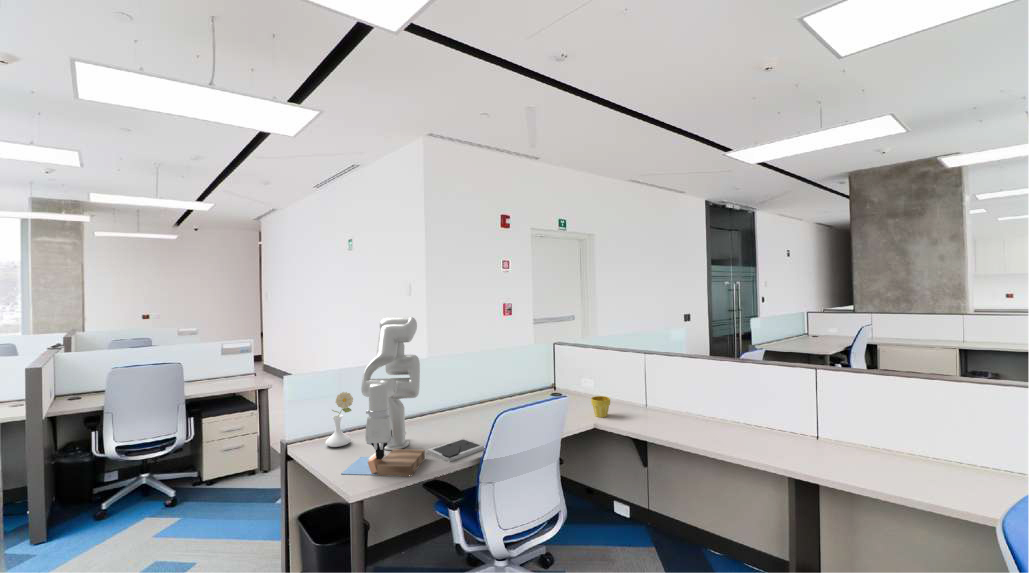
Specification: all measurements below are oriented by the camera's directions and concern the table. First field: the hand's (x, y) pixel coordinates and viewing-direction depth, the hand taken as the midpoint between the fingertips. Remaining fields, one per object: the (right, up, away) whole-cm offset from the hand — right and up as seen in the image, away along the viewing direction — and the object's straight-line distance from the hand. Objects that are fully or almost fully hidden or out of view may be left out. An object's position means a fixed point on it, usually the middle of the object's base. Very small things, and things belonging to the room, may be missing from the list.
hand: (380, 458), depth 195 cm
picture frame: (+29, -5, +21) cm, 36 cm away
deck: (+8, -5, +4) cm, 10 cm away
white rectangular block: (-4, -4, +9) cm, 10 cm away
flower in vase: (-28, -5, +32) cm, 43 cm away
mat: (-6, -5, +6) cm, 10 cm away
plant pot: (+102, -2, +69) cm, 124 cm away
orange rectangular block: (-2, -2, 0) cm, 3 cm away
